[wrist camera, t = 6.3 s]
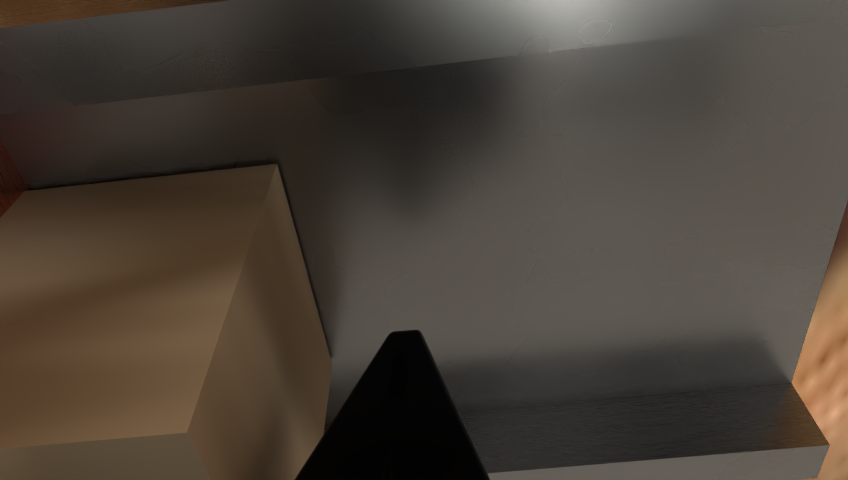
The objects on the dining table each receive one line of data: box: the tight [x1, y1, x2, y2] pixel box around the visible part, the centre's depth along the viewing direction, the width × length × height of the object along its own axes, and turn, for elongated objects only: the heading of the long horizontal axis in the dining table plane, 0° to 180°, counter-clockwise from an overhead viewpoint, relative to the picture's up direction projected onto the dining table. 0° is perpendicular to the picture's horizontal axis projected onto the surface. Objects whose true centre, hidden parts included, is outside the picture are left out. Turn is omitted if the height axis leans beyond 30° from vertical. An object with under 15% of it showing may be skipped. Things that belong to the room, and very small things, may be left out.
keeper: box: [0, 164, 332, 480], centre depth 9 cm, size 4×4×5 cm
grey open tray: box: [0, 0, 848, 480], centre depth 10 cm, size 14×10×6 cm
